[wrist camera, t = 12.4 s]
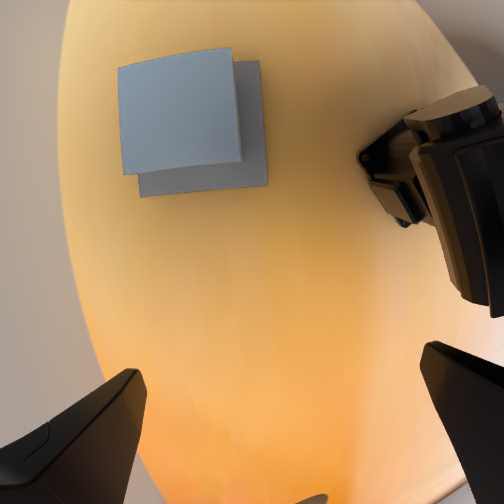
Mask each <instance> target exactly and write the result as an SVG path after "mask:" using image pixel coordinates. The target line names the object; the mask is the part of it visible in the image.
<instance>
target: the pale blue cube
mask: <svg viewBox="0 0 504 504" xmlns="http://www.w3.org/2000/svg"><path fill="white" fill-rule="evenodd" d="M118 96H119V120H120V136H121V149H122V160H123V170H124V175H131V174H139V173H147V172H155V171H163V170H170V169H177V168H185V167H193V166H202V165H211V164H220V163H231V162H242V161H243V160H242V148H241V136H240V124H239V112H238V100H237V88H236V79H235V72H234V65H233V58H232V51H231V48H222V49H213V50H205V51H198V52H191V53H185V54H179V55H173V56H168V57H163V58H158V59H153V60H149V61H144V62H140V63H136V64H132V65H128V66H124V67H120V68H118Z"/></svg>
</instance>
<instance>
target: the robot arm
mask: <svg viewBox="0 0 504 504" xmlns="http://www.w3.org/2000/svg"><path fill="white" fill-rule="evenodd" d="M363 155H365V156H366V161H363V160H362V156H363ZM356 158H357V161H358V163H359V164H360V166H361V167H362V169H363V170H364V172H365V173H366V175H367V176H368V177H369V179H370V181H369V186H370V188H371V189H372V191H373V192H374V194H375V195H376V197H377V198H378V200H379V201H380V203H381V204H382V206H383V207H384V209H385V211H386V212H387V213H389V214H391V215H393V216H394V218H395V219H396V221H397V223H398V224H399V225H400V226H401V227H404V228H407V227H408V226H410V225H411V224H419V223H420V222H421V221H422V222H424V223H427V224H429V225H431V226H434V227H436V230H437V233H438V236H439V240H440V243H441V246H442V250H443V253H444V257H445V261H446V264H447V268H448V272H449V276H450V281H451V282H452V283H453V284H454V286H455V287H456V288H457V290H458V291H460V293H461V297H462V298H463V299H465V300H467V301H469V302H471V303H475V304H479V305H484V306H489V308H490V316H491V318H497V317H501V316H504V102H502V103H498V104H497V102H496V100H495V97H494V95H493V93H492V92H491V91H490V90H489V89H488V88H487V87H486V86H485V85H481V86H477V87H474V88H470V89H467V90H463V91H460V92H457V93H454V94H452V95H450V96H448V97H446V98H443V99H441V100H439V101H437V102H435V103H433V104H431V105H428V106H426V107H424V108H422V109H420V110H413V111H410V112H409V113H408V114H407V115H405V116H404V117H403V118H402V119H400V120H399V121H398V122H396V123H395V124H394V125H393V126H391V127H390V128H389V129H388V130H386V131H385V132H384V133H382V134H381V135H380V136H379V137H377V138H376V139H375V140H374V141H372V142H371V143H370V144H369V145H367V146H366V147H365V148H363V149H362V150H361V151H360V152H359V153H358V154H357V157H356ZM403 220H405V221H406V222H405V223H403ZM420 370H421V373H422V375H423V378H424V380H425V383H426V386H427V388H428V391H429V394H430V397H431V399H432V402H433V404H434V407H435V409H436V411H437V413H438V415H439V417H440V419H441V421H442V423H443V425H444V427H445V430H446V432H447V434H448V436H449V438H450V440H451V443H452V445H453V447H454V449H455V452H456V454H457V456H458V459H459V461H460V463H461V466H462V468H463V470H464V473H465V475H466V478H467V480H468V483H469V485H470V488H471V491H472V493H473V495H474V499H475V500H476V501H475V502H476V504H504V367H502V366H499V365H497V364H494V363H492V362H489V361H487V360H484V359H482V358H479V357H477V356H474V355H472V354H469V353H467V352H464V351H462V350H459V349H457V348H454V347H452V346H449V345H447V344H444V343H442V342H439V341H432V342H428V343H426V344H425V346H424V349H423V353H422V357H421V361H420ZM146 398H147V389H146V386H145V383H144V380H143V377H142V374H141V372H140V370H139V369H133V368H127V369H125V370H123V371H122V372H120V373H119V374H118V375H116V376H115V377H113V378H112V379H110V380H109V381H107V382H106V383H104V384H103V385H101V386H100V387H99V388H97V389H96V390H94V391H93V392H91V393H90V394H88V395H87V396H85V397H84V398H82V399H81V400H79V401H78V402H76V403H75V404H73V405H72V406H71V407H69V408H67V409H66V410H65V411H63V412H61V413H60V414H58V415H57V416H55V417H54V418H53V419H51V420H50V421H49V422H46V423H45V424H43V425H42V426H40V427H39V428H37V429H35V430H34V431H32V432H30V433H29V434H27V435H25V436H24V437H22V438H20V439H18V440H16V441H14V442H12V443H10V444H8V445H6V446H4V447H3V448H0V504H123V502H124V498H125V494H126V489H127V485H128V481H129V477H130V473H131V469H132V466H133V462H134V458H135V454H136V451H137V447H138V443H139V439H140V435H141V430H142V423H143V417H144V410H145V404H146Z"/></svg>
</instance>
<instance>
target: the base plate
mask: <svg viewBox="0 0 504 504" xmlns="http://www.w3.org/2000/svg"><path fill="white" fill-rule="evenodd" d="M233 65H234V72H235V79H236V88H237V100H238V112H239V124H240V136H241V148H242V160H243V161H242V162H231V163H220V164H211V165H202V166H193V167H185V168H177V169H170V170H163V171H155V172H147V173H139V174H138V180H139V189H140V198H143V197H151V196H159V195H168V194H177V193H187V192H197V191H207V190H218V189H231V188H244V187H258V186H268V177H267V162H266V147H265V132H264V118H263V105H262V92H261V79H260V67H259V61H242V62H233Z"/></svg>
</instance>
